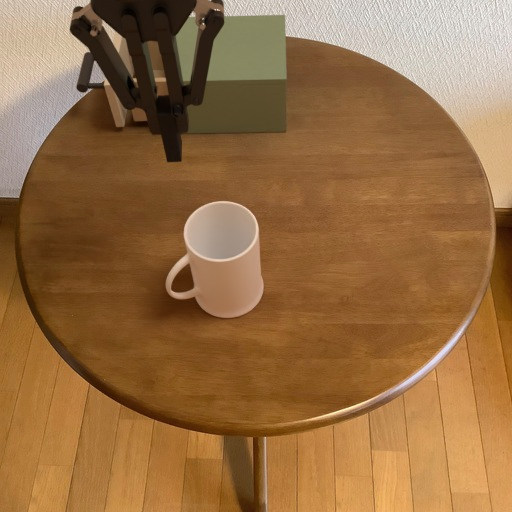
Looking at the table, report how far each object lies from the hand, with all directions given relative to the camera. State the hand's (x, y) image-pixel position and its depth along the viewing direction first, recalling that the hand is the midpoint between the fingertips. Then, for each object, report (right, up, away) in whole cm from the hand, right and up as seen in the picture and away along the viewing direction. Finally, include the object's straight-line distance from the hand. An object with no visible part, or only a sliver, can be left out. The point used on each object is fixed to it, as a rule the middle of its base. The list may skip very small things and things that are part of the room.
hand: (174, 152), depth 66 cm
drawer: (-7, +13, +30) cm, 34 cm away
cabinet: (+5, +13, +31) cm, 34 cm away
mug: (+4, -15, +12) cm, 20 cm away
